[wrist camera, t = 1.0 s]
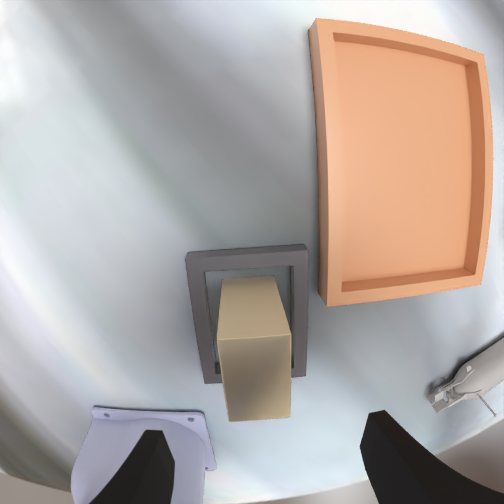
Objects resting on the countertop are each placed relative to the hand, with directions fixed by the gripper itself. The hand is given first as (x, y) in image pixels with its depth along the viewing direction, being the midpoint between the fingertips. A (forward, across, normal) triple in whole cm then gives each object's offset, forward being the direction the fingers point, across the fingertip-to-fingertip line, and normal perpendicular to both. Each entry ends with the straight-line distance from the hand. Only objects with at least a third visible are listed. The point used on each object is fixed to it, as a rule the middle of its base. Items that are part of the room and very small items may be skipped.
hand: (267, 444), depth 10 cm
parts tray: (+10, -10, -9) cm, 17 cm away
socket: (+10, 0, 0) cm, 10 cm away
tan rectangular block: (+10, 0, 0) cm, 10 cm away
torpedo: (+11, -23, +7) cm, 26 cm away
